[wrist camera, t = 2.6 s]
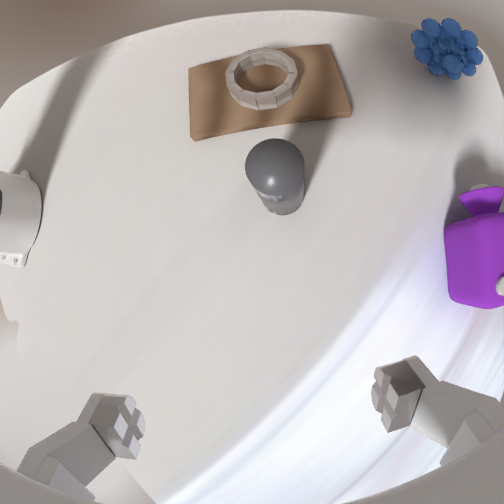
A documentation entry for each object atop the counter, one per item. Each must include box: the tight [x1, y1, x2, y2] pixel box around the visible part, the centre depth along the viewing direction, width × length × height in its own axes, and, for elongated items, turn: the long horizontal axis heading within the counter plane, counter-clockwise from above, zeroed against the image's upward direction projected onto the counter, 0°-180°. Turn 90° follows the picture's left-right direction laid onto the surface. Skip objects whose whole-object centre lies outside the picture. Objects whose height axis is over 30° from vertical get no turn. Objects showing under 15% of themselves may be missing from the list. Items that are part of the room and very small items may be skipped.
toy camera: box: [444, 183, 504, 309], centre depth 23 cm, size 11×14×10 cm
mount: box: [189, 44, 352, 141], centre depth 31 cm, size 20×12×4 cm, turn 97°
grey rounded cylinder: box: [245, 139, 304, 215], centre depth 27 cm, size 5×5×10 cm
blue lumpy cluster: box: [411, 18, 483, 80], centre depth 23 cm, size 12×7×12 cm, turn 82°
